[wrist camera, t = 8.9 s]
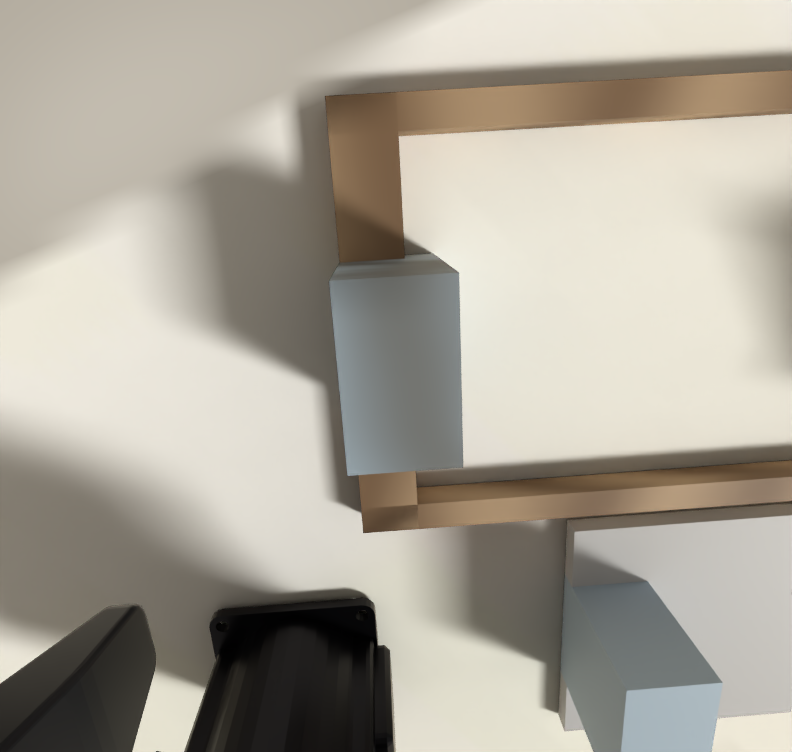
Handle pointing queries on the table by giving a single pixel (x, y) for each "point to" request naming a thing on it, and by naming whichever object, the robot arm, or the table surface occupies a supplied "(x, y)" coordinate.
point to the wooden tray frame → (440, 306)
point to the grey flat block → (675, 625)
